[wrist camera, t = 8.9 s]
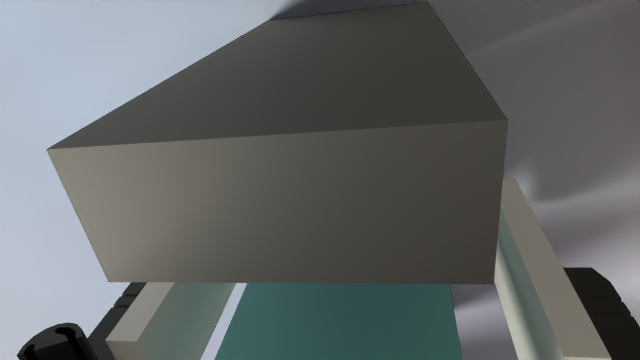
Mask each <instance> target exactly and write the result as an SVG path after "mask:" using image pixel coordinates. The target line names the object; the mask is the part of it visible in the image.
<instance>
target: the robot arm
mask: <svg viewBox="0 0 640 360" xmlns="http://www.w3.org/2000/svg"><path fill="white" fill-rule="evenodd" d="M494 282H495V285H496V288H497V292H498V295H499V298H500V301H501V305H502V308H503V311H504V314H505V318H506V321H507V324H508V327H509V331H510V334H511V337H512V340H513V344H514V347H515V350H516V353H517V357H518V360H640V327H639V325H638V323H637V322H636V320H635V319H634V317H631V313H630V311H629V310H628V308H627V307H626V305H625V304H624V302H622V301H621V298H620V296H619V295H618V293H617V291H616V290H615V288H614V287H613V285H612V284H611V282H610V281H608V280H607V279H606V278H604V277H603V276H602V275H601V274H599V273H598V272H597V271H595V270H594V269H593V268H563V267H562V265H561V263H560V262H559V260H558V258H557V256H556V254H555V252H554V250H553V249H552V247H551V245H550V243H549V241H548V239H547V237H546V235H545V234H544V232H543V230H542V228H541V226H540V224H539V222H538V221H537V219H536V217H535V215H534V213H533V211H532V209H531V208H530V206H529V204H528V202H527V200H526V198H525V196H524V194H523V193H522V191H521V189H520V187H519V185H518V183H517V181H516V180H515V179H505V180H503V182H502V194H501V205H500V217H499V229H498V240H497V252H496V264H495V275H494ZM235 284H236V283H199V282H131V283H130V285H129V286H128V287H127V288H126V290H125V291H124V292H123V294H122V297H119V299H118V300H117V301H116V303H115V304H114V307H113V308H111V309H110V310H109V311H108V313H107V314H106V315H105V317H104V318H103V319H102V320H101V322H100V323H99V324H98V326H97V327H96V328H95V329H94V331H93V332H92V333H91V335H90V336H89V337H88V338H86V336H85V334H84V332H83V331H82V329H81V328H80V327H79V326H78V325H77V324H74V323H63V324H57V325H55V326H52V327H50V328H47V329H45V330H43V331H42V332H40V333H38V334H37V335H35V336H34V337H32V338H31V339H30V340H29V341H28V342H27V343H26V344H25V345H24V346H23V347H22V348H21V350H20V351H19V353H18V354H17V357H18V358H19V359H20V360H200V359H201V357H202V355H203V353H204V351H205V348H206V346H207V344H208V342H209V340H210V338H211V336H212V333H213V331H214V329H215V327H216V325H217V323H218V321H219V318H220V316H221V314H222V312H223V310H224V308H225V305H226V303H227V301H228V299H229V297H230V295H231V293H232V290H233V288H234V286H235Z"/></svg>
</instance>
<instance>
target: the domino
mask: <svg viewBox="0 0 640 360" xmlns="http://www.w3.org/2000/svg"><path fill="white" fill-rule="evenodd" d="M507 123H508V119H507V118H506V117H505V115H504V114H503V112H502V111H501V109H500V108H499V106H498V105H497V103H496V102H495V100H494V99H493V97H492V96H491V94H490V93H489V91H488V90H487V89H486V87H485V86H484V84H483V83H482V81H481V80H480V78H479V77H478V75H477V74H476V72H475V71H474V69H473V68H472V66H471V65H470V63H469V62H468V61H467V59H466V58H465V56H464V55H463V53H462V52H461V50H460V49H459V47H458V46H457V44H456V43H455V41H454V40H453V38H452V37H451V35H450V34H449V33H448V31H447V30H446V28H445V27H444V25H443V24H442V22H441V21H440V19H439V18H438V16H437V15H436V13H435V12H434V10H433V9H432V7H431V6H430V5H429V3H428V2H421V3H413V4H404V5H396V6H387V7H379V8H370V9H362V10H353V11H345V12H336V13H328V14H320V15H311V16H303V17H294V18H286V19H277V20H269V21H266V22H264V23H263V24H261V25H259V26H258V27H256V28H254V29H252V30H251V31H249V32H247V33H246V34H244V35H242V36H240V37H239V38H237V39H235V40H233V41H232V42H230V43H228V44H227V45H225V46H223V47H221V48H220V49H218V50H216V51H215V52H213V53H211V54H209V55H208V56H206V57H204V58H203V59H201V60H199V61H197V62H196V63H194V64H192V65H191V66H189V67H187V68H185V69H184V70H182V71H180V72H178V73H177V74H175V75H173V76H172V77H170V78H168V79H166V80H165V81H163V82H161V83H160V84H158V85H156V86H154V87H153V88H151V89H149V90H148V91H146V92H144V93H142V94H141V95H139V96H137V97H136V98H134V99H132V100H130V101H129V102H127V103H125V104H123V105H122V106H120V107H118V108H117V109H115V110H113V111H111V112H110V113H108V114H106V115H105V116H103V117H101V118H99V119H98V120H96V121H94V122H93V123H91V124H89V125H87V126H86V127H84V128H82V129H80V130H79V131H77V132H75V133H74V134H72V135H70V136H68V137H67V138H65V139H63V140H62V141H60V142H58V143H56V144H55V145H53V146H51V147H50V148H48V149H46V150H47V152H48V154H49V156H50V159H51V161H52V163H53V165H54V167H55V169H56V171H57V173H58V176H59V178H60V180H61V182H62V184H63V186H64V188H65V190H66V193H67V195H68V197H69V199H70V201H71V203H72V205H73V208H74V210H75V212H76V214H77V216H78V218H79V220H80V222H81V225H82V227H83V229H84V231H85V233H86V235H87V237H88V239H89V242H90V244H91V246H92V248H93V250H94V252H95V254H96V256H97V259H98V261H99V263H100V265H101V267H102V269H103V271H104V274H105V276H106V278H107V280H108V282H199V283H372V284H494V275H495V264H496V252H497V240H498V229H499V217H500V205H501V194H502V182H503V170H504V158H505V147H506V135H507Z"/></svg>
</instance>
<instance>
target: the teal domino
mask: <svg viewBox="0 0 640 360" xmlns="http://www.w3.org/2000/svg"><path fill="white" fill-rule="evenodd" d="M215 360H462V355H461V349H460V343H459V337H458V331H457V325H456V320H455V314H454V308H453V302H452V296H451V291H450V285H449V284H372V283H247V285H246V288H245V290H244V292H243V295H242V297H241V299H240V302H239V304H238V306H237V309H236V311H235V313H234V316H233V318H232V320H231V323H230V325H229V327H228V330H227V332H226V334H225V337H224V339H223V341H222V344H221V346H220V348H219V351H218V353H217V355H216V358H215Z"/></svg>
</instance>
